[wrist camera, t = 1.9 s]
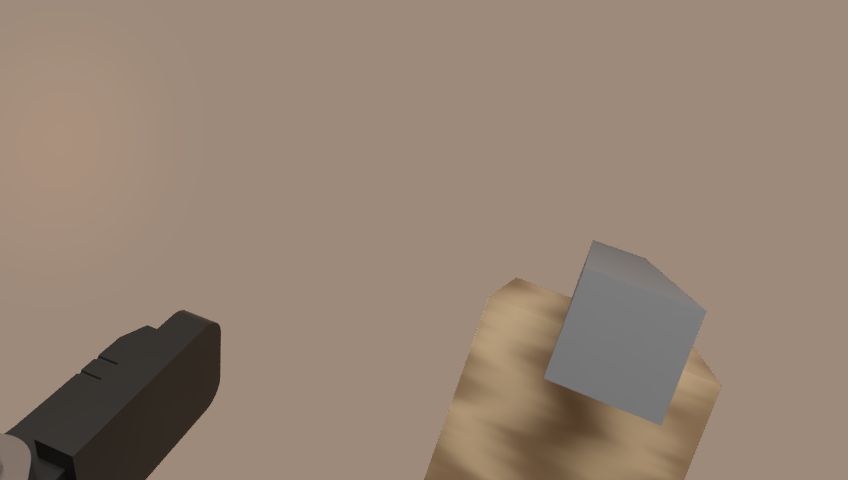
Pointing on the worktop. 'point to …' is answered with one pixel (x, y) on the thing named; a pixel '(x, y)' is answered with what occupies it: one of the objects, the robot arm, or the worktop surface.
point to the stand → (556, 408)
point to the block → (625, 334)
